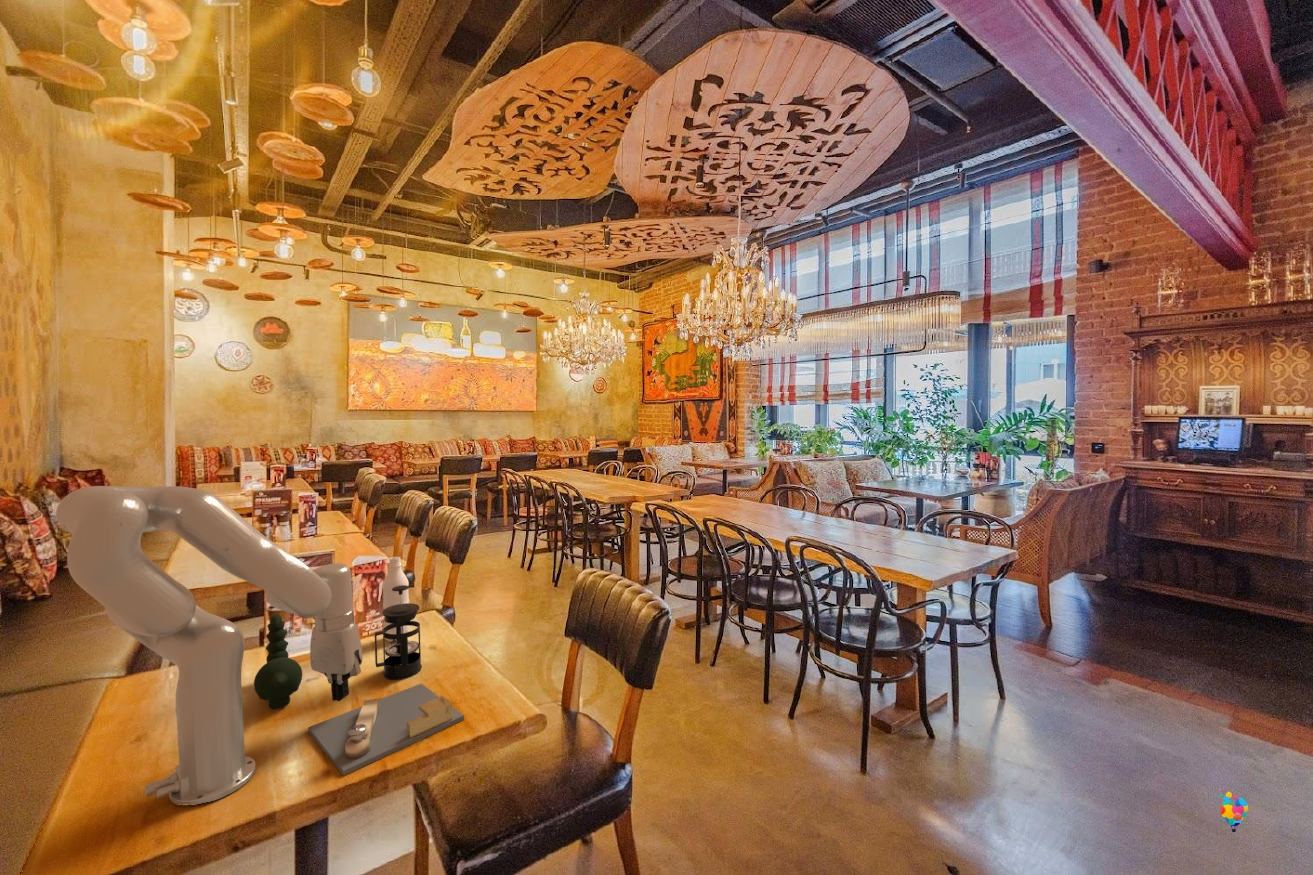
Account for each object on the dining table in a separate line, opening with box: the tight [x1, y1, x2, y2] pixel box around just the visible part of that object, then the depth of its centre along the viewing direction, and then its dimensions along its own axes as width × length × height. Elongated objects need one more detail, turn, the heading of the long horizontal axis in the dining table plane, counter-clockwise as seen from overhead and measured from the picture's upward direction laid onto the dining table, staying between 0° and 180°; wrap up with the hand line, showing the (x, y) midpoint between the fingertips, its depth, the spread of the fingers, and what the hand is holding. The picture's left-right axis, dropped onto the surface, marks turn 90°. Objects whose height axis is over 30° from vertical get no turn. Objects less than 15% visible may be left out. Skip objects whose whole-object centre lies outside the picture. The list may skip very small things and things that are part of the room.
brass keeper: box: [407, 695, 453, 739], centre depth 120 cm, size 10×4×4 cm, turn 138°
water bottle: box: [382, 556, 411, 643], centre depth 164 cm, size 7×7×25 cm
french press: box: [374, 585, 423, 681], centre depth 145 cm, size 12×9×23 cm
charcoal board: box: [307, 683, 465, 777], centre depth 121 cm, size 25×21×1 cm
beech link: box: [345, 697, 380, 758], centre depth 117 cm, size 18×4×2 cm, turn 18°
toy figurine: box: [253, 614, 303, 710], centre depth 133 cm, size 9×19×25 cm
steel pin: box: [348, 724, 366, 743], centre depth 110 cm, size 3×3×2 cm
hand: (340, 697), depth 124 cm, fingers closed
